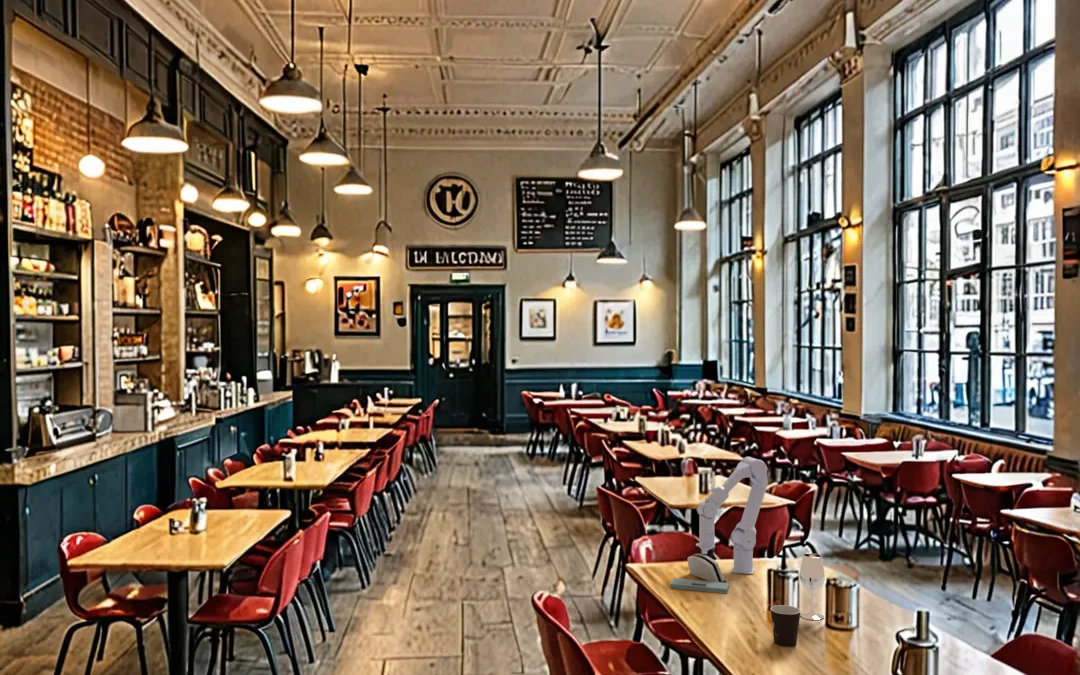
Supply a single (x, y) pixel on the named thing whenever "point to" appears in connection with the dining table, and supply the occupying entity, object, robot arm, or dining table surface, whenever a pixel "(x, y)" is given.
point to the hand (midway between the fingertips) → (706, 568)
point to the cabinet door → (699, 585)
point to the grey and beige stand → (705, 568)
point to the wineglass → (812, 580)
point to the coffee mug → (785, 625)
